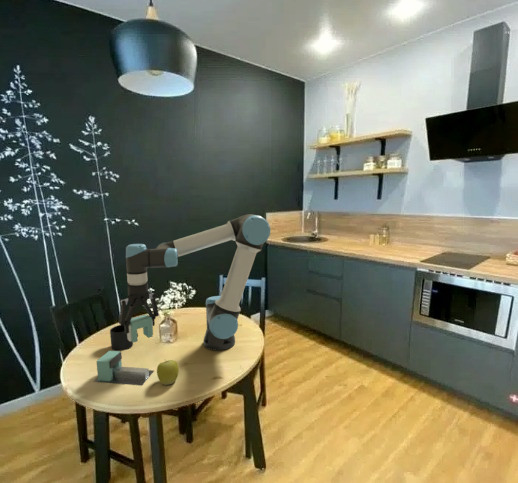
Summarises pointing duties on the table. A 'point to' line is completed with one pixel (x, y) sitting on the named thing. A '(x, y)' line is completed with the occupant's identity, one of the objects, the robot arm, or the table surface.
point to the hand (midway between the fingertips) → (140, 336)
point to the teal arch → (141, 326)
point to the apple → (167, 372)
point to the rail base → (128, 375)
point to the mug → (119, 338)
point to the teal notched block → (108, 365)
